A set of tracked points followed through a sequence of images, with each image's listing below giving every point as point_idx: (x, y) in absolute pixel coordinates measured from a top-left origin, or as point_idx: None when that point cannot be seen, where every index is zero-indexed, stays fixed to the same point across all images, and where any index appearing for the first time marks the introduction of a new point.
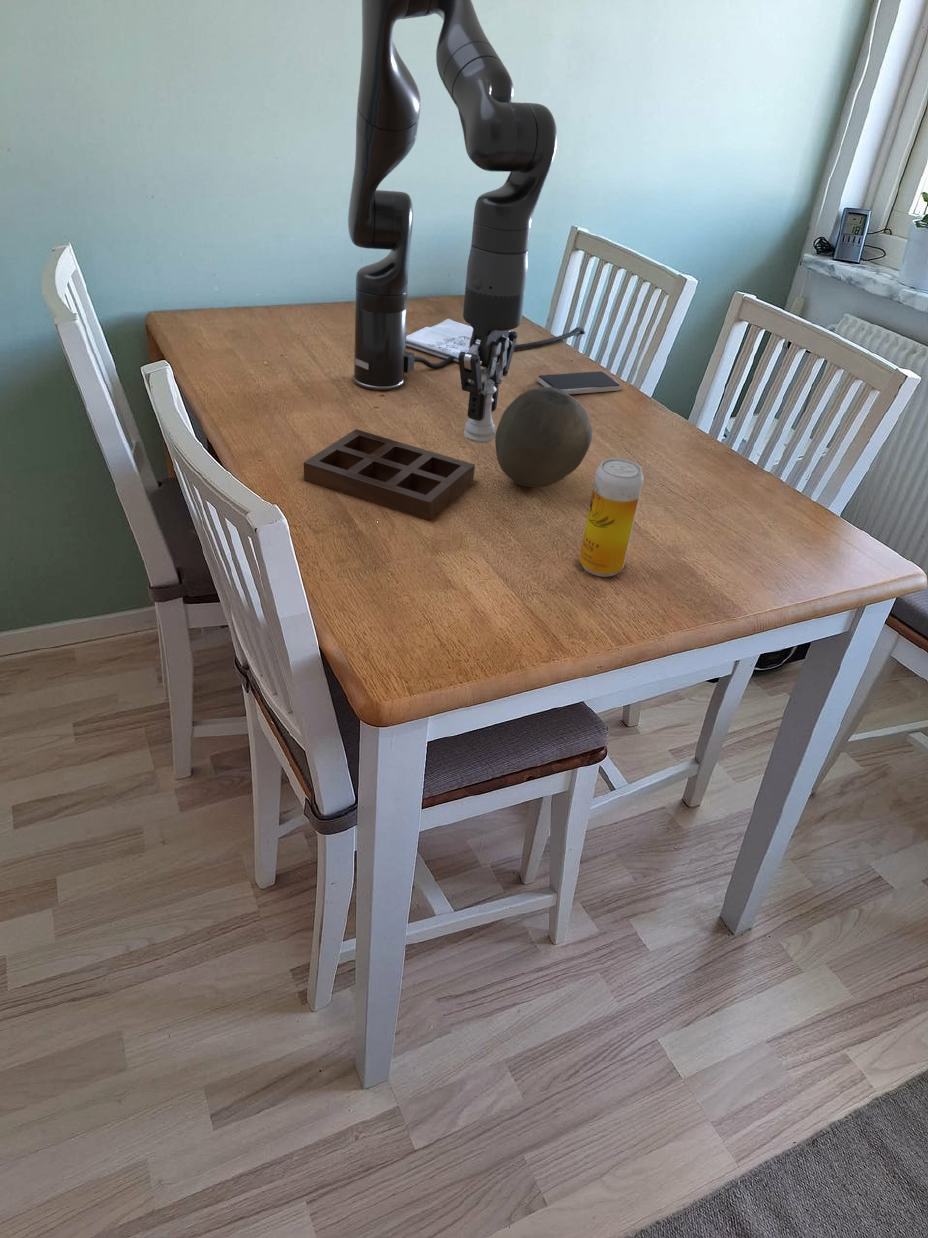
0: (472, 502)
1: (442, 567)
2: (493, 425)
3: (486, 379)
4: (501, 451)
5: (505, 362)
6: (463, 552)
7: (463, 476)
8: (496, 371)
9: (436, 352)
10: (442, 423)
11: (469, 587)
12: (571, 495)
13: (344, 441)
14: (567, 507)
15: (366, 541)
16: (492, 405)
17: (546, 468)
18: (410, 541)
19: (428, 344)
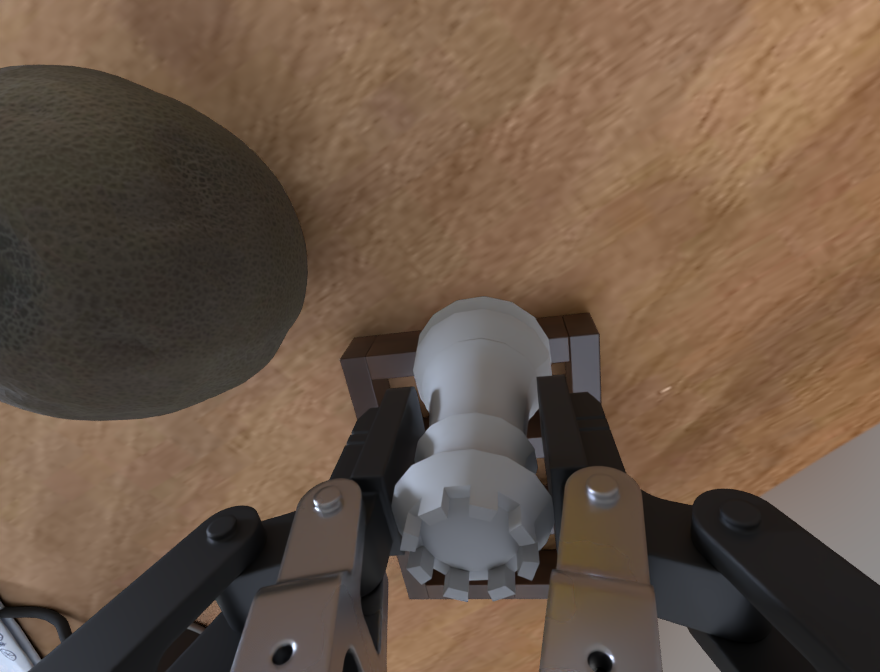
0: (438, 285)
1: (792, 153)
2: (457, 333)
3: (638, 575)
4: (296, 318)
5: (268, 626)
6: (684, 156)
7: (405, 349)
8: (360, 582)
9: (16, 637)
10: (203, 508)
11: (868, 20)
12: (200, 105)
13: (472, 589)
14: (263, 71)
15: (763, 361)
16: (409, 409)
17: (253, 155)
18: (707, 290)
19: (15, 659)
